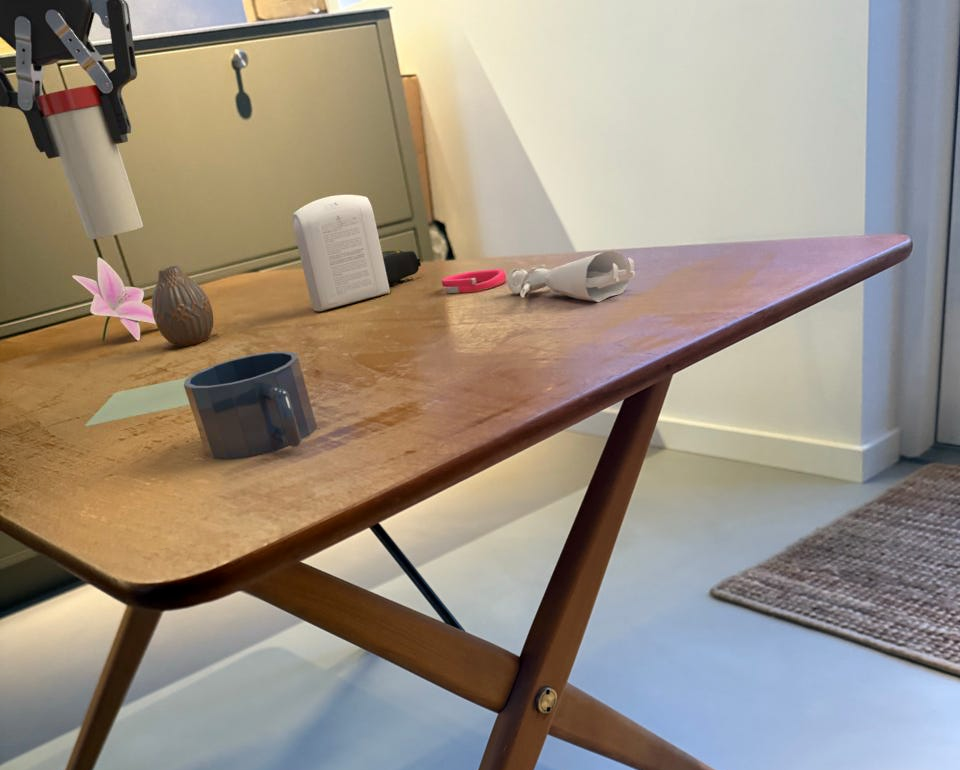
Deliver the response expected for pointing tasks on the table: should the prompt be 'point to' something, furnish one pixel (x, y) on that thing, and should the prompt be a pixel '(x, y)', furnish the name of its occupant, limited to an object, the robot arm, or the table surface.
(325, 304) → the white rounded block
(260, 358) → the mug
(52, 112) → the jar
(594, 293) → the woman figurine
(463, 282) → the fitness band
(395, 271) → the tape measure
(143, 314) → the lily
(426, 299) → the table surface
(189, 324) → the vase
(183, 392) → the sticky note
